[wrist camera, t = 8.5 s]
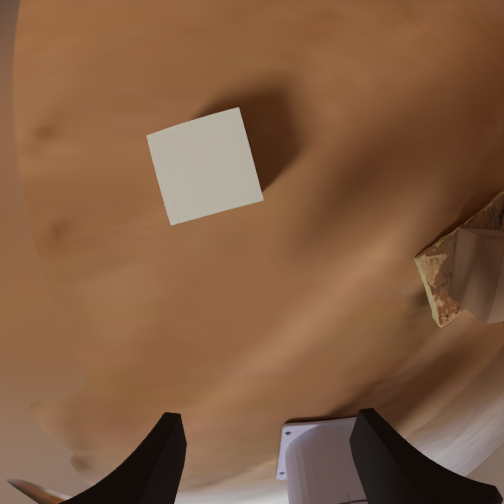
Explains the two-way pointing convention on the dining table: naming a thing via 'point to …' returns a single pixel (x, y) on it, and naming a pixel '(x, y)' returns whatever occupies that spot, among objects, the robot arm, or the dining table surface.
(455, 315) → the shard
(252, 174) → the white cube
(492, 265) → the walnut block
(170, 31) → the dining table surface
